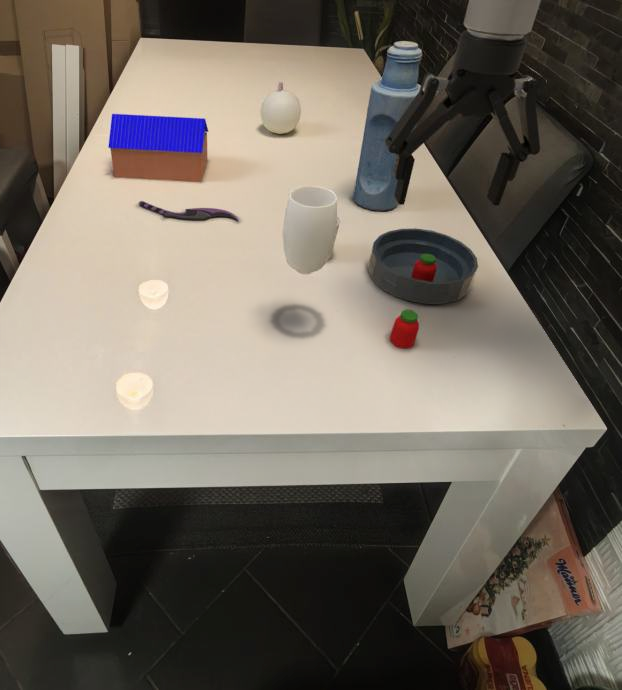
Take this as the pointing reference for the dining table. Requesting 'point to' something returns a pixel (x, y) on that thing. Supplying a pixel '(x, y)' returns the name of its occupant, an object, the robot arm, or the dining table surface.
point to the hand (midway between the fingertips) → (446, 200)
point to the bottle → (386, 126)
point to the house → (158, 147)
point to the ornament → (280, 111)
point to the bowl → (406, 249)
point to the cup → (309, 228)
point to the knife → (191, 212)
